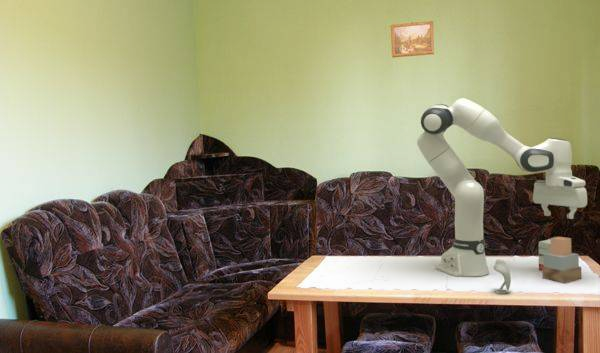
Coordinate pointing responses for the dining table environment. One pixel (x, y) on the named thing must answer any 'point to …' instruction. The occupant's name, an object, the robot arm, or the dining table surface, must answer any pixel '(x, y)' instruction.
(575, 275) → the walnut block
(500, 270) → the figurine
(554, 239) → the terracotta block
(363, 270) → the dining table surface
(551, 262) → the slate block
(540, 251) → the ink box
